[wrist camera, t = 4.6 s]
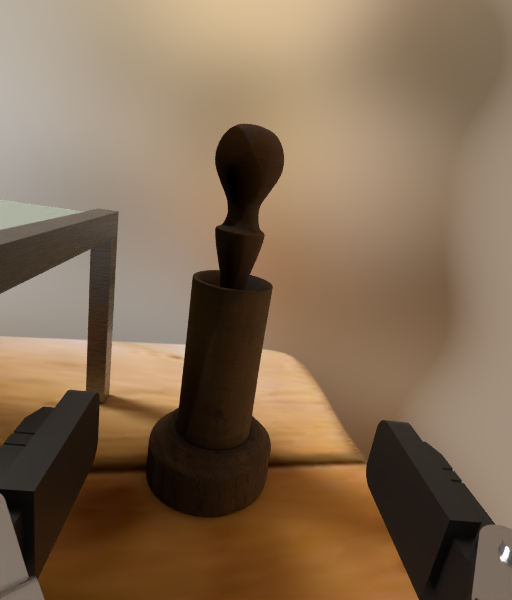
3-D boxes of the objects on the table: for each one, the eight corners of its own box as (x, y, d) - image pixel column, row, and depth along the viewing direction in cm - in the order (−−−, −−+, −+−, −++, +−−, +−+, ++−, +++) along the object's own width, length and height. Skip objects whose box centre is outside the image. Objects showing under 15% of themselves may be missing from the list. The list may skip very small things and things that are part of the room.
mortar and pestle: (224, 424, 26) (266, 140, 21) (289, 488, 22) (362, 142, 17) (127, 454, 22) (151, 111, 17) (180, 541, 18) (235, 102, 13)
